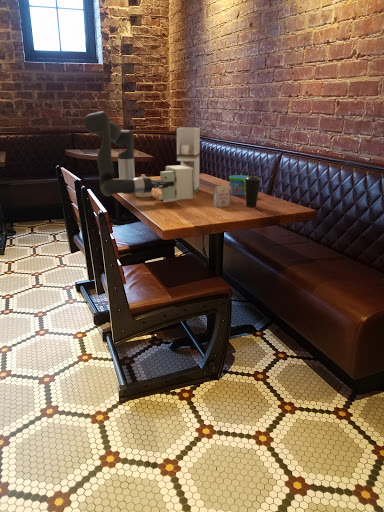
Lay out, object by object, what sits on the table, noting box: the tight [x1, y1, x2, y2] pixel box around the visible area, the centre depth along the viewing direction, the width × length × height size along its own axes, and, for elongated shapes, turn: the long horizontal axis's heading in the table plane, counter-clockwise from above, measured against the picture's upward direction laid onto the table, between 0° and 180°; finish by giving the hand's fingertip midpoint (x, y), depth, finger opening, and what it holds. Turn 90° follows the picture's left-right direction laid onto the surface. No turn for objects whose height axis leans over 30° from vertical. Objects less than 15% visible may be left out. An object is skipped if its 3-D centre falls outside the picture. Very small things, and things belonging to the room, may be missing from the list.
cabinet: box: [158, 164, 194, 203], centre depth 214 cm, size 15×18×16 cm
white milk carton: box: [213, 185, 230, 208], centre depth 198 cm, size 4×7×10 cm, turn 108°
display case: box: [176, 127, 201, 194], centre depth 229 cm, size 11×11×35 cm
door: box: [159, 170, 175, 198], centre depth 208 cm, size 5×6×13 cm
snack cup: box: [228, 174, 249, 196], centre depth 224 cm, size 16×10×10 cm
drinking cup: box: [245, 165, 261, 208], centre depth 197 cm, size 8×8×20 cm
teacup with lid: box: [135, 174, 153, 198], centre depth 221 cm, size 12×9×12 cm
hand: (172, 182), depth 209 cm, fingers closed on door, 3 cm apart
